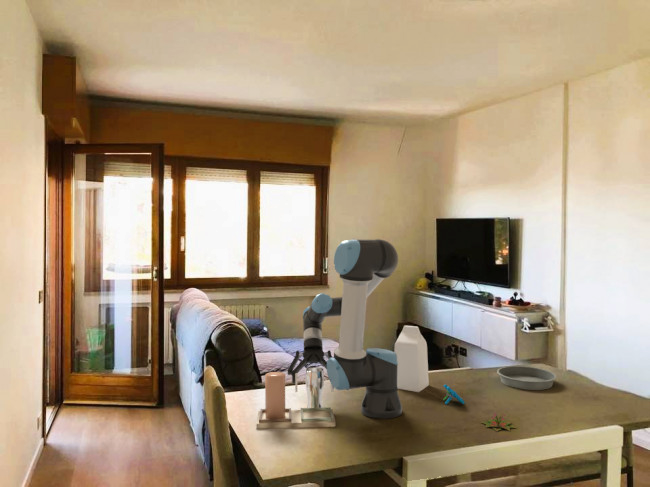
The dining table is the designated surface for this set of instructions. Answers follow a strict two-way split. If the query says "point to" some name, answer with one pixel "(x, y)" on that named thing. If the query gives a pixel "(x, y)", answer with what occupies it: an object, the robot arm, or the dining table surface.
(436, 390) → the dining table surface
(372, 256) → the robot arm
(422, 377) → the milk
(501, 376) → the cake pan
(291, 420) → the board
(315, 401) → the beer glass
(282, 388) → the tan tall block
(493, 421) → the lily flower
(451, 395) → the toy gun
